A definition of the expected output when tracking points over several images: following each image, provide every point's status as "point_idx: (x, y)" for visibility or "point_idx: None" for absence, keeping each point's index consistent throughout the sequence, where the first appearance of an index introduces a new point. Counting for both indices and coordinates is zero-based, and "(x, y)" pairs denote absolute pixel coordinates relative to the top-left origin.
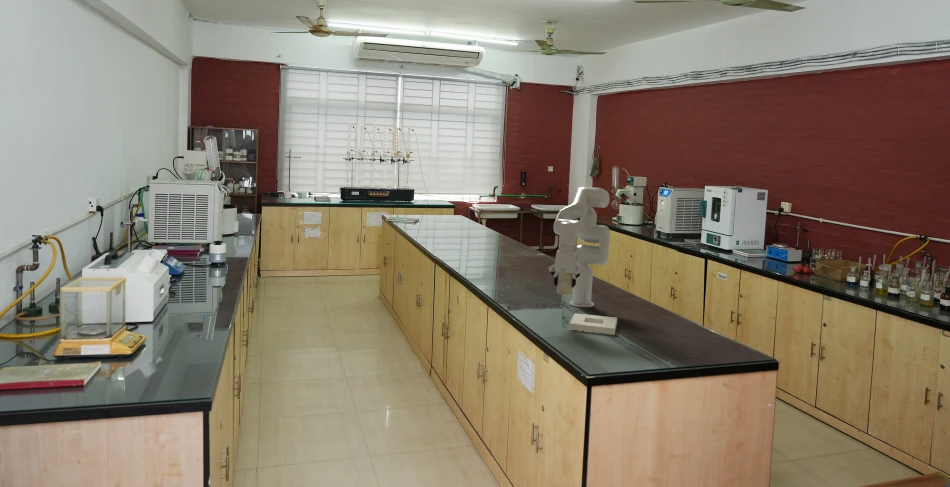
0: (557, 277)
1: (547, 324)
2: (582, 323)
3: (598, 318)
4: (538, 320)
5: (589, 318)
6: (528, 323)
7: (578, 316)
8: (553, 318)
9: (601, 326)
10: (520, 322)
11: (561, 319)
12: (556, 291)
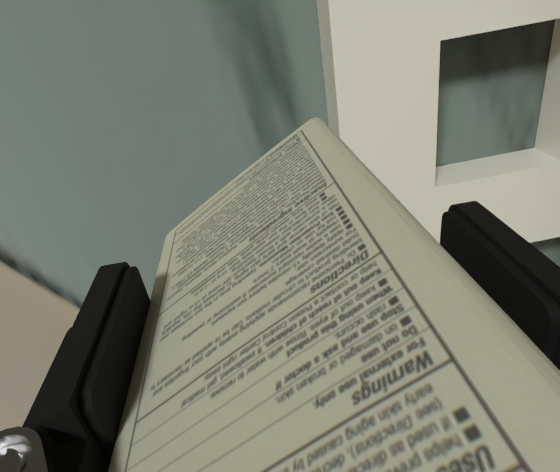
0: (121, 452)
1: (180, 215)
2: (429, 230)
3: (550, 9)
4: (73, 153)
5: (470, 33)
6: (67, 261)
7: (377, 43)
8: (136, 13)
9: (549, 229)
10: (11, 268)
11: (209, 7)
12: (165, 247)
